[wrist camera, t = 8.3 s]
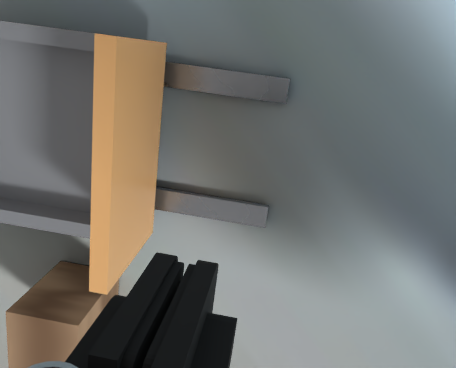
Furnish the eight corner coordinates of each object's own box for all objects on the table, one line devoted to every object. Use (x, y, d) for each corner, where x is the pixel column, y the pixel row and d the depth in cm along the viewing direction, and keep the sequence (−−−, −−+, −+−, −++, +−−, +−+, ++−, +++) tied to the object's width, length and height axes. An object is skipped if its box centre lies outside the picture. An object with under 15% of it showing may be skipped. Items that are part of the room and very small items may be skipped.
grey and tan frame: (171, 43, 26) (116, 36, 17) (157, 226, 30) (106, 294, 21) (-31, 16, 27) (-177, -4, 18) (-18, 196, 31) (-134, 249, 23)
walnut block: (119, 271, 33) (78, 325, 26) (116, 323, 34) (77, 386, 28) (60, 261, 33) (5, 311, 27) (60, 312, 35) (8, 372, 28)
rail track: (290, 78, 27) (290, 78, 26) (265, 225, 30) (265, 227, 29) (-35, 34, 28) (-41, 33, 28) (-25, 176, 32) (-30, 178, 31)
